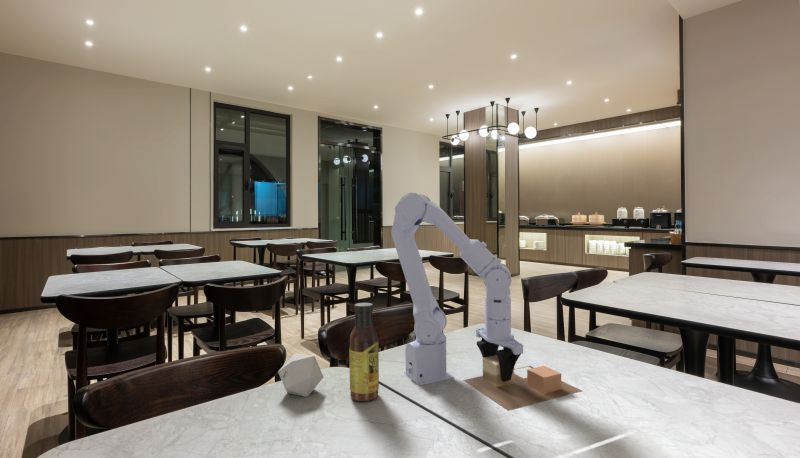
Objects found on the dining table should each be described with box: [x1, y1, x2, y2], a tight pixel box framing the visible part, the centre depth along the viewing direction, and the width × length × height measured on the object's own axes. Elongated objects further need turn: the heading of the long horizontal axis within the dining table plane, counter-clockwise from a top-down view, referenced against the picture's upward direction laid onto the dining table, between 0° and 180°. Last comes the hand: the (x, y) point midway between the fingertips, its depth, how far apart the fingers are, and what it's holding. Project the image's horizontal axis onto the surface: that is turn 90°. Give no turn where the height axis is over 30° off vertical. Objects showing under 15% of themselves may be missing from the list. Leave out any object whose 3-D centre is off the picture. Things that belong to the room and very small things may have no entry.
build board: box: [462, 365, 583, 412], centre depth 89 cm, size 20×16×1 cm
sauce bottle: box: [348, 302, 380, 402], centre depth 85 cm, size 6×6×20 cm
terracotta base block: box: [527, 365, 562, 394], centre depth 88 cm, size 5×5×4 cm
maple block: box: [482, 355, 515, 387], centre depth 92 cm, size 5×5×5 cm
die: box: [277, 352, 324, 398], centre depth 88 cm, size 8×9×10 cm
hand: (498, 375), depth 92 cm, fingers closed on maple block, 5 cm apart
